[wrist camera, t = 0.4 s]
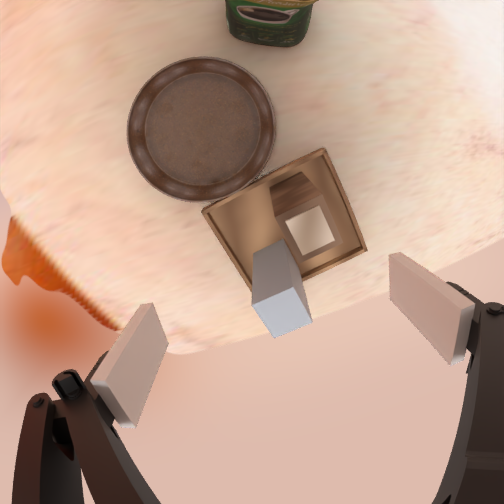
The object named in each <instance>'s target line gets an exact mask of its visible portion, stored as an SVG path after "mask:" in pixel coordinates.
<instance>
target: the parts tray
mask: <svg viewBox="0 0 504 504" xmlns="http://www.w3.org/2000/svg"><path fill="white" fill-rule="evenodd" d="M301 171H302V172H303V173H304V175H305V176H306V177H307V178H308V179H309V180H310V181H311V182H312V183H313V184H314V186H315V187H316V188H317V189H318V190H319V191H320V192H321V193H322V195H323V197H324V199H325V201H326V204H327V206H328V208H329V210H330V213H331V215H332V217H333V219H334V222H335V224H336V226H337V229H338V231H339V233H340V236H341V238H342V241H343V243H342V244H340V245H338V246H336V247H334V248H332V249H329V250H327V251H325V252H323V253H321V254H319V255H317V256H315V257H313V258H310V259H308V260H306V261H304V262H302V263H300V264H299V263H298V261H297V259H296V257H295V255H294V253H293V251H292V249H291V247H290V245H289V243H288V242H287V240H286V238H285V236H284V234H283V232H282V230H281V228H280V226H279V225H278V223H277V221H276V219H275V217H274V211H273V206H272V200H271V195H270V189H269V187H271V186H273V185H275V184H277V183H279V182H281V181H283V180H285V179H287V178H289V177H291V176H293V175H295V174H297V173H299V172H301ZM201 213H202V214H203V216H204V217H205V219H206V221H207V222H208V224H209V225H210V227H211V229H212V230H213V232H214V233H215V235H216V237H217V238H218V240H219V241H220V243H221V245H222V246H223V248H224V249H225V251H226V253H227V254H228V256H229V257H230V259H231V261H232V262H233V264H234V265H235V267H236V268H237V270H238V272H239V273H240V275H241V276H242V278H243V279H244V281H245V283H246V284H247V286H248V287H249V289H250V290H251V292H252V276H253V253H255V252H257V251H259V250H261V249H263V248H265V247H267V246H269V245H271V244H273V243H275V242H278V241H280V240H282V239H284V241H285V243H286V245H287V247H288V248H289V250H290V252H291V254H292V256H293V258H294V260H295V262H296V264H297V266H298V268H299V271H300V275H301V278H302V282H303V281H305V280H307V279H309V278H312V277H314V276H316V275H318V274H320V273H322V272H324V271H327V270H329V269H331V268H333V267H335V266H337V265H339V264H341V263H343V262H346V261H348V260H350V259H352V258H354V257H356V256H358V255H360V254H362V253H364V252H366V251H368V250H367V247H366V245H365V242H364V239H363V236H362V234H361V231H360V229H359V226H358V223H357V221H356V218H355V216H354V213H353V211H352V208H351V206H350V203H349V201H348V198H347V196H346V194H345V191H344V189H343V187H342V184H341V182H340V180H339V177H338V175H337V173H336V171H335V169H334V166H333V164H332V162H331V160H330V158H329V156H328V153H327V151H326V149H325V148H321V149H318V150H316V151H314V152H312V153H310V154H308V155H306V156H304V157H302V158H300V159H297V160H295V161H293V162H291V163H289V164H287V165H285V166H283V167H281V168H279V169H277V170H275V171H273V172H271V173H269V174H267V175H265V176H263V177H261V178H259V179H257V180H255V181H254V182H252V183H250V184H248V185H247V186H246V187H245V188H243V189H242V190H240V191H238V192H237V193H235V194H233V195H231V196H228V197H226V198H223V199H220V200H218V201H216V202H214V203H212V204H211V205H209V206H207V207H205V208H203V210H202V211H201Z"/></svg>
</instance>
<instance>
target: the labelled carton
mask: <svg viewBox="0 0 504 504" xmlns="http://www.w3.org/2000/svg"><path fill="white" fill-rule="evenodd" d="M269 189H270V195H271V200H272V206H273V211H274V217H275V219H276V221H277V223H278V225H279V226H280V228H281V230H282V232H283V234H284V236H285V238H286V240H287V242H288V243H289V245H290V247H291V249H292V251H293V253H294V255H295V257H296V259H297V261H298V263H299V264H300V263H302V262H304V261H306V260H308V259H310V258H313V257H315V256H317V255H319V254H321V253H323V252H325V251H327V250H329V249H332V248H334V247H336V246H338V245H340V244H342V243H343V241H342V238H341V236H340V233H339V231H338V229H337V226H336V224H335V222H334V219H333V217H332V215H331V213H330V210H329V208H328V206H327V204H326V201H325V199H324V197H323V195H322V193H321V192H320V191H319V190H318V189H317V188H316V187H315V186H314V184H313V183H312V182H311V181H310V180H309V179H308V178H307V177H306V176H305V175H304V173H303V172H302V171H301V172H299V173H297V174H295V175H293V176H291V177H289V178H287V179H285V180H283V181H281V182H279V183H277V184H275V185H273V186H271V187H269Z"/></svg>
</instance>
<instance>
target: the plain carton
mask: <svg viewBox="0 0 504 504" xmlns="http://www.w3.org/2000/svg"><path fill="white" fill-rule="evenodd" d="M252 307H253V308H254V310H255V311H256V313H257V314H258V316H259V317H260V319H261V320H262V321H263V323H264V324H265V326H266V327H267V329H268V330H269V332H270V333H271V335H272V336H273V338H276V337H278V336H281V335H283V334H286V333H288V332H291V331H293V330H296V329H298V328H301V327H303V326H305V325H308V324H310V323H312V318H311V314H310V310H309V306H308V302H307V298H306V294H305V290H304V286H303V282H302V278H301V275H300V271H299V268H298V266H297V264H296V262H295V260H294V258H293V256H292V254H291V252H290V250H289V248H288V247H287V245H286V243H285V241H284V239H282V240H280V241H278V242H275V243H273V244H271V245H269V246H267V247H265V248H263V249H261V250H259V251H257V252H255V253H253V276H252Z"/></svg>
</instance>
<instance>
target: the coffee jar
mask: <svg viewBox="0 0 504 504" xmlns="http://www.w3.org/2000/svg"><path fill="white" fill-rule="evenodd" d="M316 1H318V0H225V2H226V21H227V26H228V29H229V31H230V33H231V34H232V35H233V36H234V37H236V38H238V39H240V40H243V41H247V42H252V43H257V44H263V45H270V46H280V47H289V46H294V45H296V44H298V43H300V42H301V41H302V40H303V38H304V37H305V34H306V32H307V29H308V26H309V22H310V18H311V12H312V6H313V3H314V2H316Z"/></svg>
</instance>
